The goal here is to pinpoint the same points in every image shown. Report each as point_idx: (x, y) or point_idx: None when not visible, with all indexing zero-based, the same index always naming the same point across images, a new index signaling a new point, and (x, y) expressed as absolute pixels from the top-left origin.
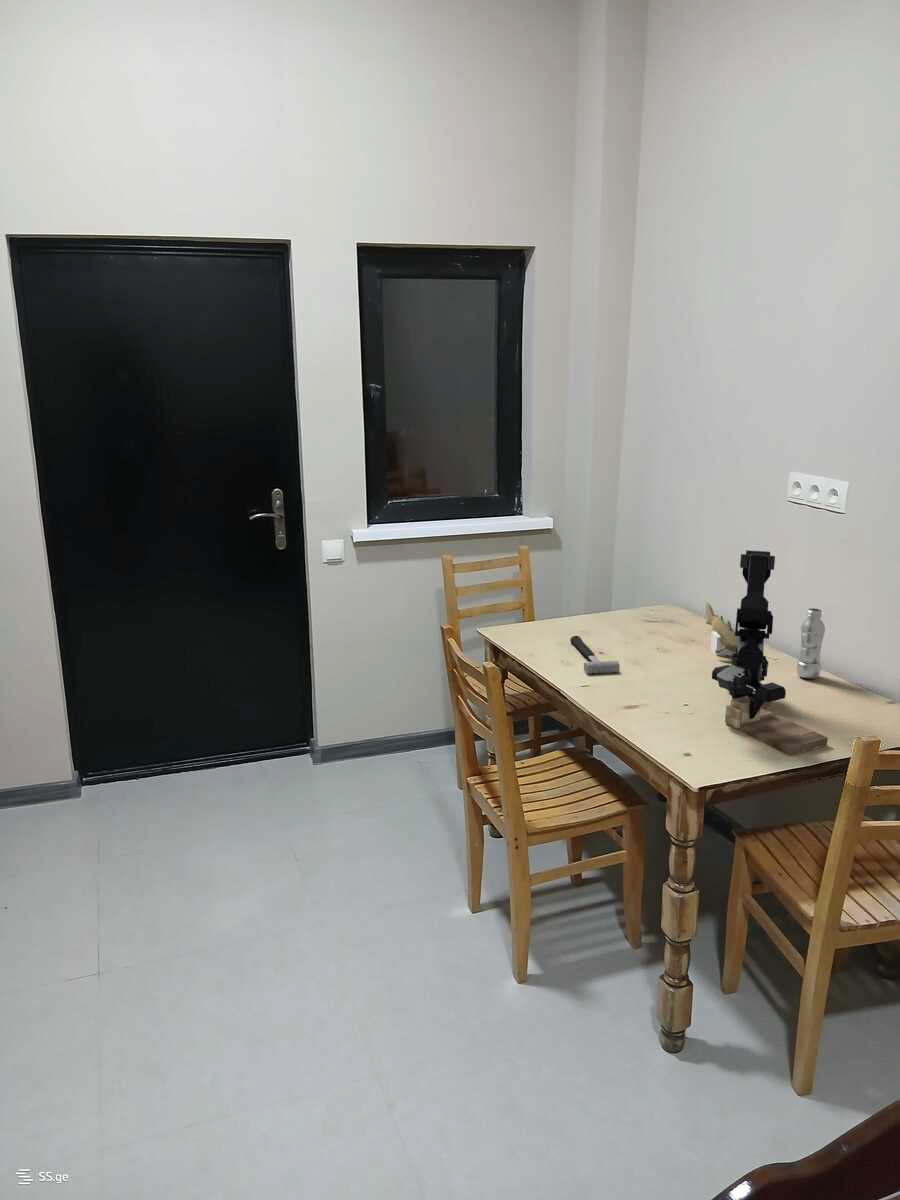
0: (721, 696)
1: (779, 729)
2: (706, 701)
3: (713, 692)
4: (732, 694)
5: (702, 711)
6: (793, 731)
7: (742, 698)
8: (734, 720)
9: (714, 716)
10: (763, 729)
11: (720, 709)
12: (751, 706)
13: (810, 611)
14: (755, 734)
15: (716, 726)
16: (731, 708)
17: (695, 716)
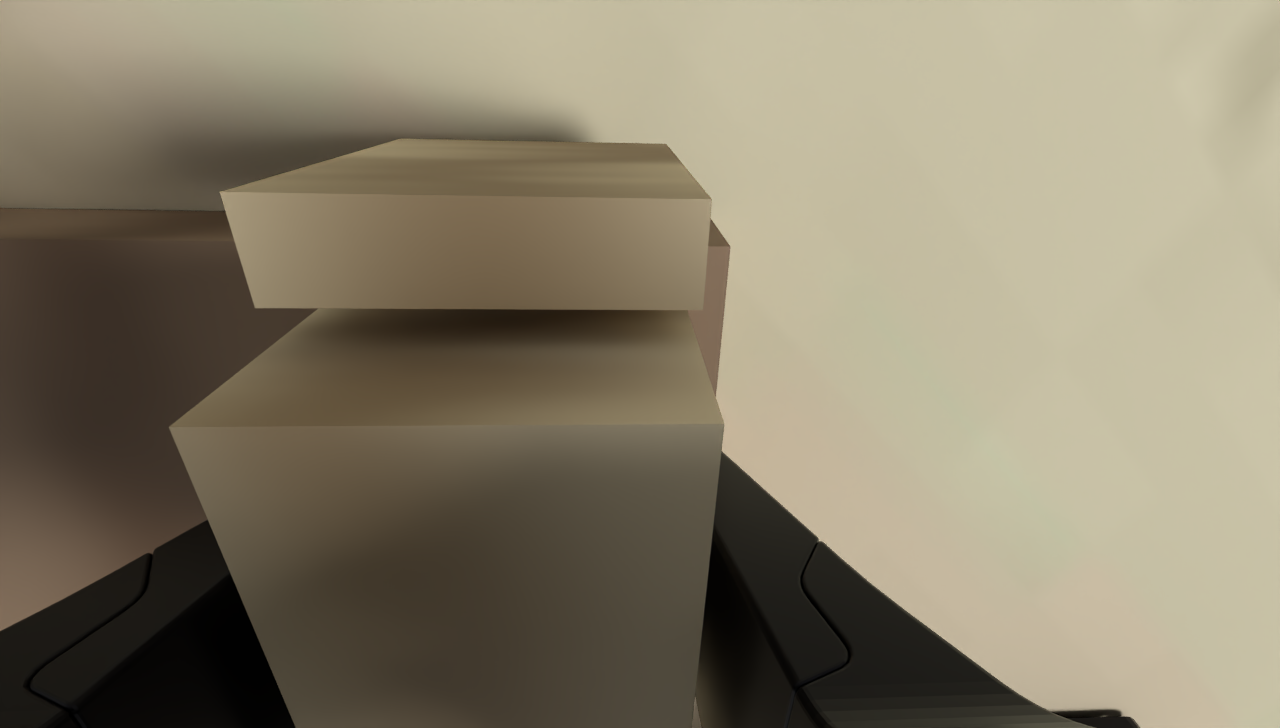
0: (1155, 650)
1: (107, 536)
2: (1230, 493)
3: (1251, 652)
4: (867, 644)
5: (1154, 273)
6: (24, 612)
7: (628, 689)
8: (439, 154)
9: (963, 289)
10: (139, 382)
11: (1017, 472)
12: (153, 575)
13: None
14: (129, 226)
15: (745, 54)
16: (506, 197)
17: (1162, 55)
